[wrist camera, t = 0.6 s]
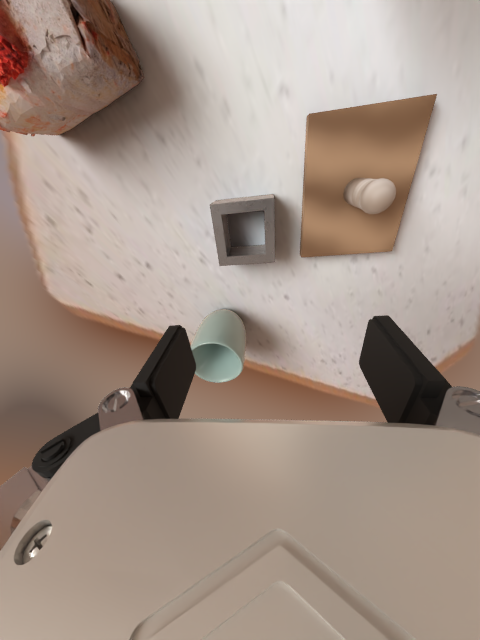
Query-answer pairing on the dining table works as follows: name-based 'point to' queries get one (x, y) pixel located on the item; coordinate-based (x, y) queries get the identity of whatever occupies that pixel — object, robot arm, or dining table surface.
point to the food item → (61, 63)
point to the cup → (219, 346)
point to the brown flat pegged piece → (360, 175)
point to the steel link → (222, 237)
